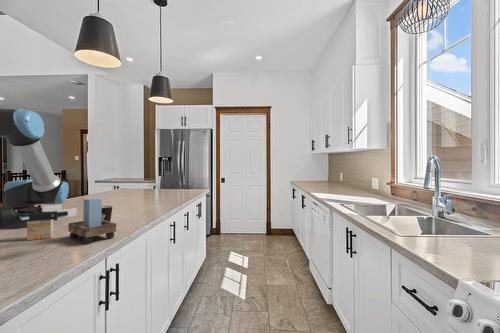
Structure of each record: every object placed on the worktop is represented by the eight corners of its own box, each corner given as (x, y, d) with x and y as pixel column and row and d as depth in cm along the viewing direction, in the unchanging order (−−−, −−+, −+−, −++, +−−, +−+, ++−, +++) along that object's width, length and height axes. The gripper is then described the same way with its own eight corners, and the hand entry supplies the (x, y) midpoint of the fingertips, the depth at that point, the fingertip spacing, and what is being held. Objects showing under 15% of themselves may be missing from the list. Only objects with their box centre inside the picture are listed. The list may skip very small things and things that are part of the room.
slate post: (83, 227, 110) (83, 199, 110) (95, 224, 114) (95, 198, 114) (88, 228, 107) (89, 200, 107) (101, 226, 111) (101, 199, 111)
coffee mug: (115, 224, 136) (116, 205, 136) (105, 228, 128) (105, 208, 127) (95, 223, 137) (95, 204, 137) (83, 227, 129) (83, 207, 129)
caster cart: (68, 238, 110) (68, 223, 110) (97, 232, 120) (97, 218, 120) (85, 245, 101) (86, 228, 101) (115, 238, 111) (116, 223, 111)
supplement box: (26, 241, 105) (26, 209, 105) (29, 238, 109) (30, 207, 109) (51, 238, 109) (51, 208, 109) (53, 235, 113) (54, 206, 113)
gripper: (-15, 224, 92) (55, 215, 110) (7, 236, 78) (83, 223, 96) (-15, 203, 92) (55, 197, 110) (7, 211, 78) (83, 203, 96)
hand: (68, 209), depth 103 cm, fingers open, 13 cm apart
